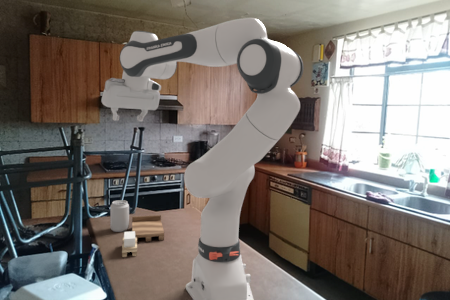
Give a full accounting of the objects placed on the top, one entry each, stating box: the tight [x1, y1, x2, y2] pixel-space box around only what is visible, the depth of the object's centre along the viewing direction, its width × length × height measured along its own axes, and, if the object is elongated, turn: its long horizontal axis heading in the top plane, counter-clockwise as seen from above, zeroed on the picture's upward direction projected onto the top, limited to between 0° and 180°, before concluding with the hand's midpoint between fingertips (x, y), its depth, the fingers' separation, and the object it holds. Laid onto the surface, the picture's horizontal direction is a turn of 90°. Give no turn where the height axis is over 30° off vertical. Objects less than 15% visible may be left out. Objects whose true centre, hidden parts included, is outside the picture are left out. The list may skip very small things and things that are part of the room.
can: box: [109, 199, 130, 233], centre depth 139 cm, size 8×8×12 cm
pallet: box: [121, 237, 138, 258], centre depth 119 cm, size 10×5×3 cm, turn 16°
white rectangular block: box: [123, 230, 135, 247], centre depth 119 cm, size 7×4×3 cm, turn 16°
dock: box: [131, 214, 165, 243], centre depth 135 cm, size 16×12×5 cm
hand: (127, 120), depth 114 cm, fingers open, 8 cm apart
